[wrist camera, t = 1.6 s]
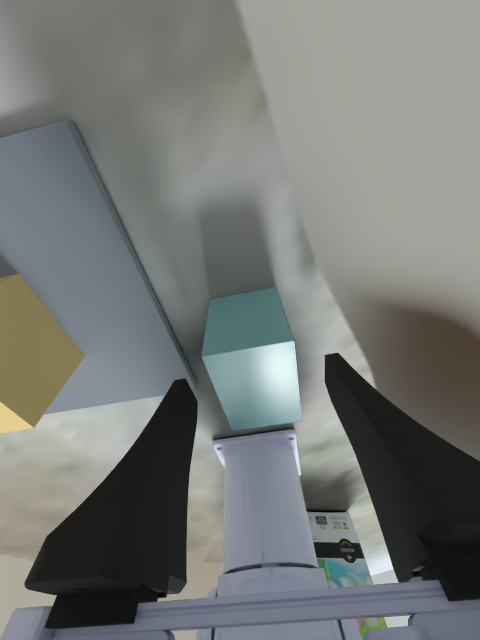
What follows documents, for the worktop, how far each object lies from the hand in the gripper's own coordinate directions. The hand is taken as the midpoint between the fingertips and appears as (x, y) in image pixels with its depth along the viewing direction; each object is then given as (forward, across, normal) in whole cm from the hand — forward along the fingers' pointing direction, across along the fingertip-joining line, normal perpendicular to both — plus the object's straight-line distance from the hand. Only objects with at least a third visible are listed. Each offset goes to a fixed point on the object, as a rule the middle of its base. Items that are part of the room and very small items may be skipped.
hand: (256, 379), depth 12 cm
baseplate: (+4, +12, -4) cm, 13 cm away
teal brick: (+4, 0, 0) cm, 4 cm away
